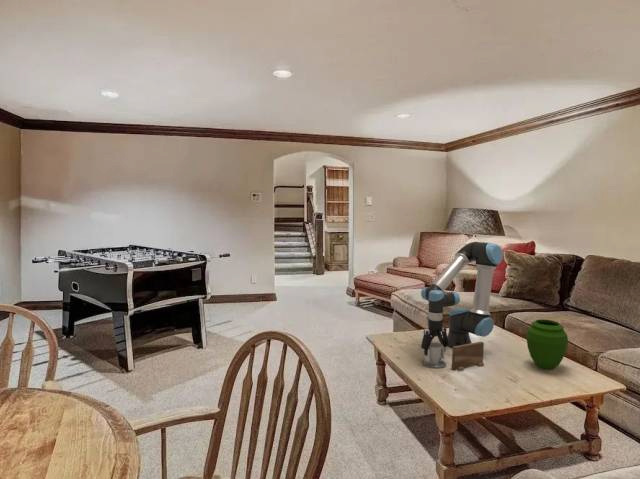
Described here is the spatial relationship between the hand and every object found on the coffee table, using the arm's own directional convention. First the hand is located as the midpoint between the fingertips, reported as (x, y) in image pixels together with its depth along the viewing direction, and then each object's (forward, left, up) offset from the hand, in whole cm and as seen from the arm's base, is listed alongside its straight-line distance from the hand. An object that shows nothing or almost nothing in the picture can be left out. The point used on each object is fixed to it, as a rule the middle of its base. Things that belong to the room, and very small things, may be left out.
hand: (434, 359), depth 220 cm
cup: (0, 0, -2) cm, 2 cm away
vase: (+28, +51, -3) cm, 58 cm away
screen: (+10, +14, -3) cm, 17 cm away
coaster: (0, 0, -3) cm, 3 cm away
